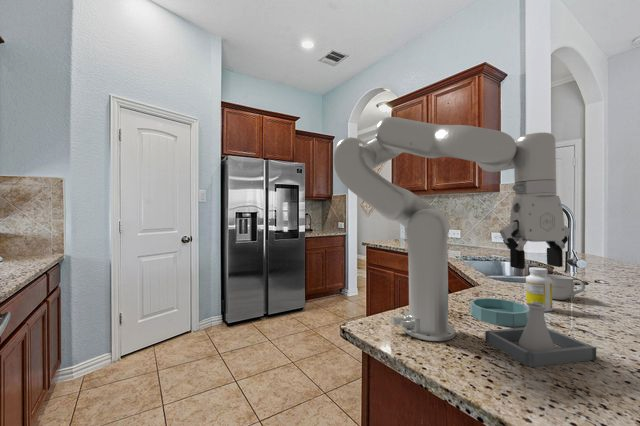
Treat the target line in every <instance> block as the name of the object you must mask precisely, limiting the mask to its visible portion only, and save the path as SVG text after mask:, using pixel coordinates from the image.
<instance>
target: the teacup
mask: <svg viewBox="0 0 640 426" xmlns="http://www.w3.org/2000/svg"><path fill="white" fill-rule="evenodd" d="M547 277H549V278H550V279H551V280H552V300H562V301H563V300H568V299H569V298H571V297H575V295H577V294H581V293H582V292H584V291H585V290H586V285H585V283H584V282H583V281H581V280H579V279H575V278H574V277H571V276H567V275H566V276H565V275H559V274H548V273H547ZM576 284H579V285H580V288H579V289H577V290H574V288H575V285H576Z"/></svg>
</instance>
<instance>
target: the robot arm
mask: <svg viewBox="0 0 640 426" xmlns="http://www.w3.org/2000/svg"><path fill="white" fill-rule="evenodd" d="M374 136H375V138H373V139H371V140H370V141H368V142H365V141H364V140H362V139H360V138H357V137H351V136H350V137H345V138H343V139H341V140H339V141H338V142H337V144H336V145H335V149H334V150H333V151H334V152H333V166H334V167H333V168H334V171H335V173H336V175H337V177H338V178H339V180H340V181H341V183H342V184H343V185H344V186H345V187H346V188H347V189H349V191H350V192H352V193H353V194H355V195H356V196H357V197H358V198H359V199H361V200H362V201H363V202H364V203H366V204H367V205H368V206H369V207H371V208H372V209H374V210H375V211H376V212H378V213H379V214H380V215H381V216H382V217H383V218H385V219H386V220H389V221H395V222H397V223H399V224H401V225H402V226H403V227H404V228H406V244H407V253H408V254H407V256H408V258H407V259H408V262H407V263H408V311H405V314H403V315H402V316H391V319H390V321H391V325H392V326H398V325H400V328H402V329H403V332H405V333H406V334H407V335H409V336H410V337H413V338H416V339H419V340H423V341H429V342H444V341H446V342H447V341H449V340H451V339H453V338H455V337H456V329H455V328H454V327H453V326H452V325H450V324H449V270H448V269H449V267H448V266H449V264H448V234H449V232H450V222H449V219H448V217H447V216H446V215H445V213H444V212H442V211H440V210H439V209H437V208H436V207H434V206H433V205H431V204H430V203H428V201H425V200H424V199H423V198H421V197H419V196H418V195H416V194H415V193H413V192H412V191H411V190H408V189H406V188H403V187H401V186H398V185H396V184H394V183H393V182H391V181H389V180H388V179H386V178H385V177H384V176H382V175H381V174H380V173H378V172H376V171H375V170H374V169H375V168H378V167H379V166H381V165H383V164H385V163H387V162H389V161H391V160H393V159H394V158H396V157H398V156H399V155H401V154H404V153H405V154H411V155H414V156H418V157H423V158H427V159H438V158H454V159H461V160H464V161H465V160H466V161H470V162H473V163H476V164H477V166H479V167H480V169H482V171H485V172H488V173H489V172H490V173H497V172H502V171H508V170H512V169H513V170H514V185H512V190H513V191H514V196H512V197H513V198H512V202H511V206H510V207H511V209H510V217H509V218H510V219H509V224H507V225H506V226H504V227H503V228H501V229H500V230H499V233H500V237H501V239H502V241H503V244H504V245H506V248H507V250H509V258H510V260H509V263H510V267H511V268H515V269H519V270H525V268H526V261H525V260H526V257H525V256H526V253H525V249H524V250H523V248H524V247H525V245H526V244H527V242H532V243H535V242H537V243H538V242H541V243H542V242H545V243H546V244H547V246H548V247H546V264H547V266H551V267H558V268H562V267H563V266H564V264H563V258H564V257H563V250H564V249H565V248H566V243H567V242H568V240H569V236H570V233H571V228H570V227H568V226H566V225H565V218H564V217H565V216H564V210H563V204H562V201H561V198H560V196H559V195H558V194H557V165H556V164H557V161H556V160H557V157H556V156H557V155H556V153H557V152H556V138H555V136H554V134H552V133H550V132H532V133H527V134H523V135H520V136H518V137H517V138H516V139H514V137H513V136H511V135H510V134H508V133H506V132H504V131H500V130H496V129H491V128H485V127H479V126H473V125H465V124H436V123H431V122H430V123H429V122H424V121H418V120H413V119H407V118H403V117H395V116H387V117H384V118H382V119H380V120H379V122H378V123H377V125H376V127H375V130H374Z"/></svg>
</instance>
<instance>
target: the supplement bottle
mask: <svg viewBox="0 0 640 426" xmlns="http://www.w3.org/2000/svg"><path fill="white" fill-rule="evenodd" d="M528 271H529V275H526V277H525V297H526V298H525V299H526V300H525V302H526V304H525V305H526V306H527V307H528V303H536V304H541V305H544V306H545V307H546V309H545V310H544V313H545V312H552V311H553V299H552V280H551V279H550V278H549V277H547V274H548V271H549V270H548V268H544V267H535V266H532V267H529V269H528ZM528 308H529V307H528Z"/></svg>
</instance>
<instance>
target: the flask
mask: <svg viewBox="0 0 640 426" xmlns="http://www.w3.org/2000/svg"><path fill="white" fill-rule="evenodd" d="M528 307H529V317H528V321H527V323H526V326H524V327H523V328H524V331H523V333H522V335H521V337H520V339H519V341H517V345H518V346H520V347H521V348H523V349H525V350H527V351H529V352H531V351H541V350H551V349H556V347H555V345H554V344H555V343H553V342H552V339H551V337H550V334H549V332H548V329H547V328H548V327H547V324H546V319H545V318H546V317H545V312H544V310H545V309H546V307H545V306H544V305H541V304H536V303H528Z"/></svg>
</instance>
